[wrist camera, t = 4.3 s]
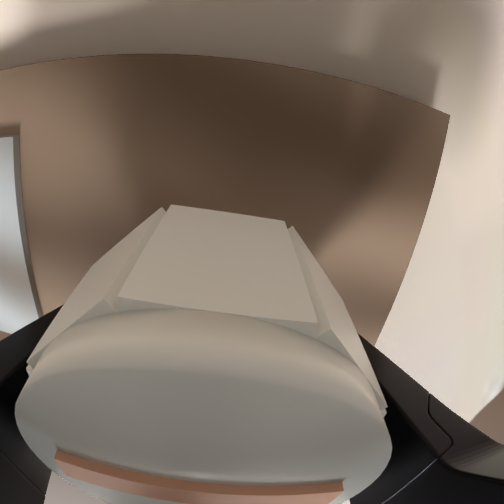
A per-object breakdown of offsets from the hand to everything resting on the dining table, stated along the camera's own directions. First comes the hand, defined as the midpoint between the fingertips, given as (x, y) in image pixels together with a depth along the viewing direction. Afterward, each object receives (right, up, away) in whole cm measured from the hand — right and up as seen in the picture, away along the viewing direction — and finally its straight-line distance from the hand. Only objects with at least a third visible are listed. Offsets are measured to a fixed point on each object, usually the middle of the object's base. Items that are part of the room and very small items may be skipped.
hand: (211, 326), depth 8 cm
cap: (0, 0, 0) cm, 0 cm away
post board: (-6, +3, +3) cm, 7 cm away
